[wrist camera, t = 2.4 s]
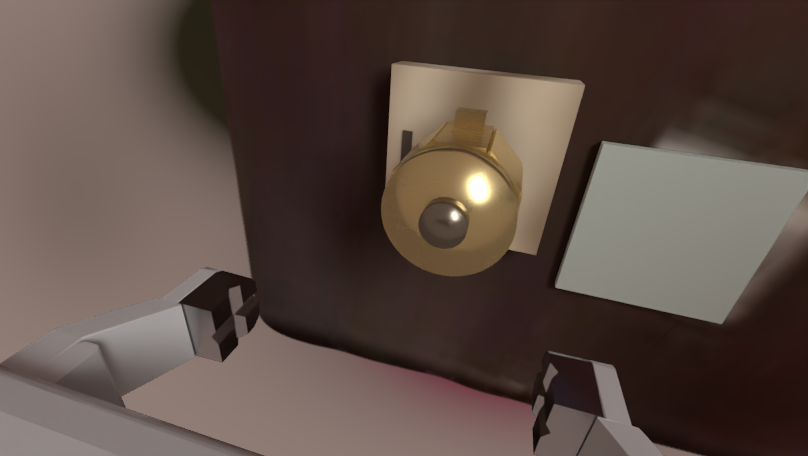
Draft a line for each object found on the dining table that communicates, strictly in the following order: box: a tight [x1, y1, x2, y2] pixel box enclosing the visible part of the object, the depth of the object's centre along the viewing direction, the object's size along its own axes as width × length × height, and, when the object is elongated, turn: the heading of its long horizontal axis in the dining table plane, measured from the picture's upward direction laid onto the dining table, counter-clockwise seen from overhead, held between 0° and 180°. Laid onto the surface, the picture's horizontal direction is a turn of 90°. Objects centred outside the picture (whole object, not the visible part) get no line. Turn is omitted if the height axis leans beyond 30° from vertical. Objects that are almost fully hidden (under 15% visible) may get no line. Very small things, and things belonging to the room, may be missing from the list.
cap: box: [381, 107, 523, 276], centre depth 18 cm, size 6×7×6 cm
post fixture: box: [385, 61, 585, 255], centre depth 20 cm, size 10×10×8 cm
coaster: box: [555, 141, 808, 324], centre depth 23 cm, size 10×10×1 cm
